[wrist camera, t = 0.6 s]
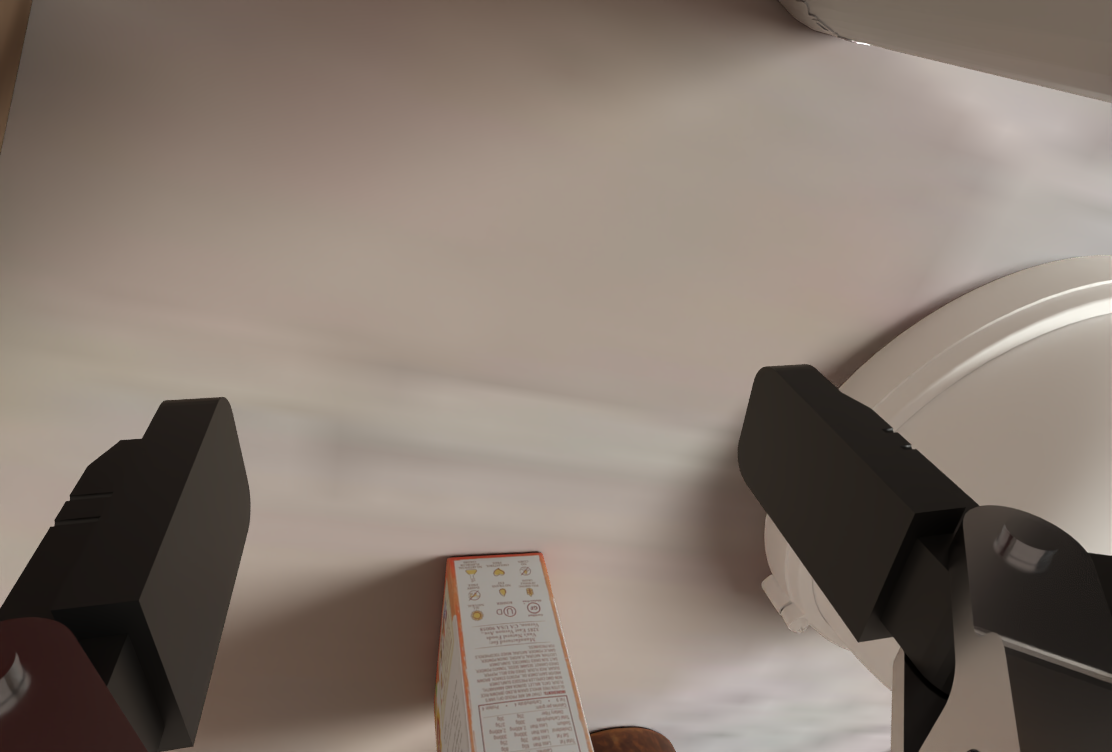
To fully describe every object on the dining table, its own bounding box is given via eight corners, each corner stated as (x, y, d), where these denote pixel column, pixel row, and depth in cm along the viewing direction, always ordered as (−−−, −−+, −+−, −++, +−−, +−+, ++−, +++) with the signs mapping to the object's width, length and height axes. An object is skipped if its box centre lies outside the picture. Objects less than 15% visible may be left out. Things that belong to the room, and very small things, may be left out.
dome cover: (817, 675, 54) (933, 878, 42) (675, 452, 37) (805, 690, 25) (1206, 482, 49) (1452, 648, 38) (1249, 129, 32) (1717, 237, 21)
